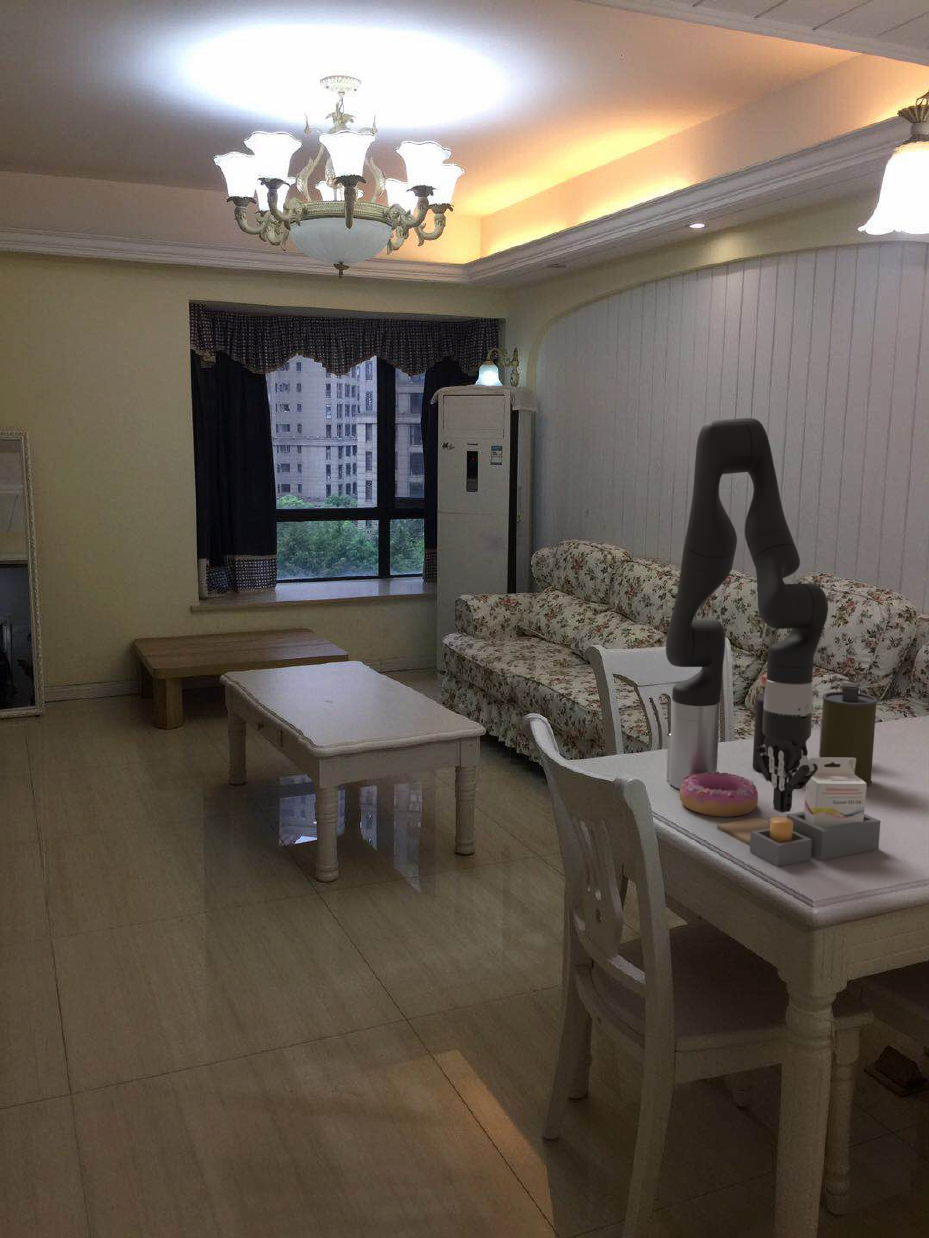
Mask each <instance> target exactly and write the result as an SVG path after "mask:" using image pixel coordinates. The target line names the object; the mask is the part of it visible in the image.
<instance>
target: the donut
mask: <svg viewBox="0 0 929 1238" xmlns="http://www.w3.org/2000/svg"><path fill="white" fill-rule="evenodd" d="M757 789H758V788H757V787H756V785H755V784H754V781H752V780H749V779H748V778H745V777H743V776H740V775H739V774H732V773H728V772H720V771H717V772H710V773H709V772H704V773H702V774H701V773H695V774H691V776H690V775H688V776H686V777H685V778H684V779H683V782H682V784H681V786H680V789H679V797H680V802H681V803H682V805H683V806H684V807H686V808H687V809H689V810H690V811H693V812H695V813H697V812H698V813H697V814H700V815H706V816H711V817H721V818H722V817H723V818H728V817H729V818H731V817H740V816H743V815H747V814H750V813H751V812H753V811H754V810H755V809H756V807H757V804H758V802H759V792H758V790H757Z"/></svg>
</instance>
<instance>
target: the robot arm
mask: <svg viewBox="0 0 929 1238" xmlns="http://www.w3.org/2000/svg"><path fill="white" fill-rule="evenodd" d="M772 454H773V453H772V449H771V444H770V441H769V437H768V434H767V432H766V430H765V427H764V425H763V424H762V423H761V421H759V420H758V419H757V418H753V417H751V418H750V417H744V418H743V417H741V418H727V419H718V420H711V421H707V422H706V423H705V422H704V424H703V425H702V426H701V429H700V431H699V433H698V437H697V442H696V448H695V460H694V461H695V462H694V475H693V485H692V487H693V490H692V498H691V505H690V512H689V518H688V525H687V529H686V533H685V538H684V542H683V550H682V557H681V563H680V564H681V566H680V573H679V579H678V580H679V582H678V585H677V591H676V596H675V601H674V603H673V604H674V605H673V609H672V613H671V616H670V620H669V623H668V624H669V625H668V628H667V633H666V640H665V641H666V643H665V655H666V659H667V661H668V663H669V664H670V665H672V666H674V667H679V668H701V669H700V671H699V672H698V673H696V674H695V675H693V676H692V677H690V678H687V679H684V680H682V681H679V682H677V683H675V684H674V686H673V688H672V693H671V717H670V718H671V720H670V721H671V722H670V723H671V724H670V733H669V734H668V735H667V736H668V737H667V753H666V754H667V758H666V780H667V779H668V780H667V781H668V783H669V785H670V786H671V785H672V786H671V787H673V786H674V787H673V788H676V789H678V790H680V786H681V784H682V782H683V779H684V778H685V777H686V776H688V775H690V776H691V774H695V773H701V774H702V773H704V772H709V773H710V772H718V771H717V769H718V757H719V756H718V755H719V753H718V750H719V734H720V733H719V732H720V731H719V730H720V712H721V711H720V710H721V709H720V708H721V707H720V706H721V693H722V682H723V671H724V661H725V653H726V633H725V629H724V626H723V624H722V623H721V622H720V621H719V620H716V619H694V618H695V616H696V614H697V612H698V611H699V610H700V608H701V607H702V605H703V604H704V603H705V602H706V600H708V599H709V598H710V597H711V596H712V595H713V594H714V593H715V592H716V591H717V590H718V589H719V588H720V587H721V586H722V584H723V583H725V581H726V580H727V579H728V577H729V575H730V573H732V569H733V566H734V561H735V555H736V549H737V544H738V537H737V532H736V528H735V526H734V524H733V522H732V521H731V518H730V516H729V515H728V513H727V512H726V509H725V508H724V506H723V504H722V501H721V499H720V484H721V483H720V482H721V479H722V476H723V475H727V474H728V475H729V474H739V473H748V475H749V477H750V479H751V482H752V485H753V493H752V498H751V501H750V505H749V508H748V512H747V514H746V517H745V521H744V522H745V523H744V539H745V541H746V546H747V548H748V551H749V553H750V556H751V559H752V562H753V566H754V569H755V574H756V575H755V576H756V586H757V609H758V613H759V615H760V618H761V620H762V621H763V622H764V624H766V625H767V626H768V627H769V628H771V629H775V630H776V629H777V630H783V629H791V631H790V633H789V635H788V637H787V638H784V639H783V640H780V641H778V642H775V643H773V644H771V645H770V646H769V648H768V651H767V663H766V674H767V679H766V686H765V691H764V706H763V726H762V732H763V734H764V735H765V736H766V738H765V741H764V745H762V746H761V747H755V748H754V752H755V755H756V757H757V760H758V762H759V765H760V767H761V770H762V772H761V773H762V775H763V777H764V780H765V781H766V782H770V783H771V787H772V788H773V796H772V797H773V800H772V802H773V803H772V804H773V810H774V811H777V812H779V813H789V812H790V811H791V809H792V807H793V792H794V790H802V789H804V787H806V783H807V782H808V781H809V780H810V779H811V777H812V776H813V775H814V774H815V772H816V771H817V770H818V766H817V765H816V764H811V762H810V759H809V757H808V754H809V753H808V752H809V751H808V748H807V747H808V746H807V741H808V740H809V738H810V737H811V736H812V735H811V734H812V721H813V719H812V718H813V705H814V704H813V703H814V689H813V676H814V675H813V674H814V657H815V654H816V651H817V649H818V646H819V642H820V639H821V636H822V634H823V631H824V628H825V626H826V621H827V618H828V614H829V613H828V612H829V601H828V598H827V595H826V592H825V591H824V590H823V588H822V587H820V586H819V585H818V584H815V583H811V582H810V583H807V582H806V583H785V581H784V579H785V578H787V577H789V576H792V575H793V574H795V572H797V571H798V570H799V568H800V566H801V565H800V564H801V559H800V554H799V552H798V550H797V547H796V544H795V541H794V538H793V536H792V533H791V531H790V527H789V525H788V523H787V519H786V517H785V513H784V510H783V505H782V501H781V494H780V489H779V484H778V479H777V474H776V473H777V472H776V468H775V464H774V459H773V455H772ZM768 767H769V769H768Z"/></svg>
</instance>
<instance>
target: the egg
mask: <svg viewBox="0 0 929 1238" xmlns="http://www.w3.org/2000/svg"><path fill="white" fill-rule="evenodd" d="M769 820H770V821H769V823H770V836H769V838H770V839H772V840H774V841H775V842H777V843H784V842H789V841H792V836H793V821H792V820H790V819H788V818H786V817H783V816H782V817H781V816H775V817H772V818H770V819H769Z"/></svg>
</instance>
